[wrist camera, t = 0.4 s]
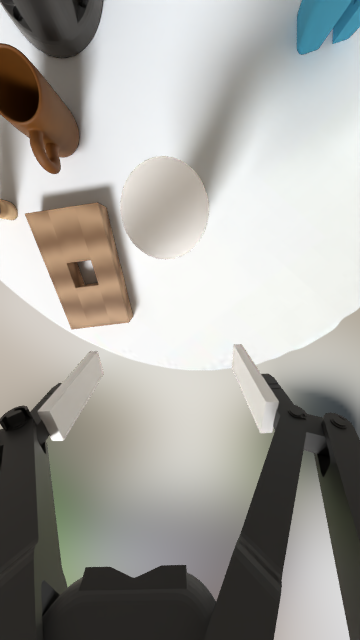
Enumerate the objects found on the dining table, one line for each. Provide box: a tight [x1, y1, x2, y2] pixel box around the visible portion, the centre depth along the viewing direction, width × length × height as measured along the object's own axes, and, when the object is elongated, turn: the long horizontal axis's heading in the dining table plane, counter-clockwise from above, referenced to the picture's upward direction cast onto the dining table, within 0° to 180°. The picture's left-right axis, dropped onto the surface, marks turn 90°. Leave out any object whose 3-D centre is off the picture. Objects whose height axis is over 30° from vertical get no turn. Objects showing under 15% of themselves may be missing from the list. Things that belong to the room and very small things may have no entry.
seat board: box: [25, 202, 133, 329], centre depth 38 cm, size 24×14×4 cm, turn 7°
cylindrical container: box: [120, 156, 209, 260], centre depth 25 cm, size 7×7×25 cm
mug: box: [0, 43, 79, 174], centre depth 27 cm, size 12×8×9 cm, turn 8°
